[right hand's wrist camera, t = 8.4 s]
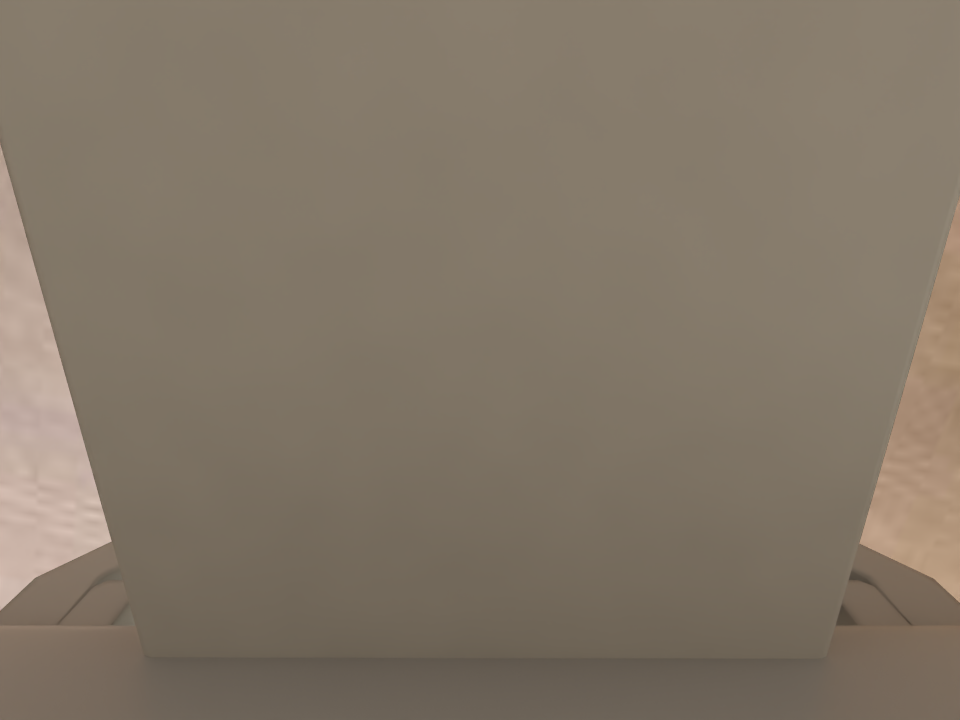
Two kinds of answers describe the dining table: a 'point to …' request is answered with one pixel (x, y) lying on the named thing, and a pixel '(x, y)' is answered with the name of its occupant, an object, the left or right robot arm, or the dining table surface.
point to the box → (484, 309)
